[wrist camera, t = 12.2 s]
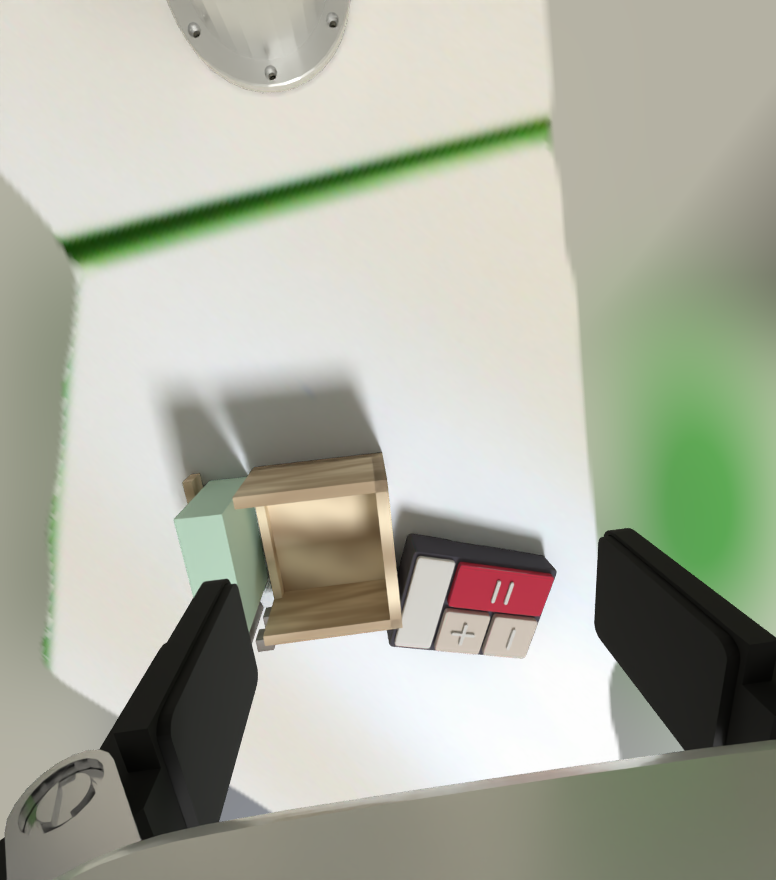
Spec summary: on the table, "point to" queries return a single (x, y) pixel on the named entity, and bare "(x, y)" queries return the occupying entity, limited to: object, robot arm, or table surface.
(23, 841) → the robot arm
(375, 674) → the table surface
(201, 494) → the green block
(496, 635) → the calculator
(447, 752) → the table surface
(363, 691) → the table surface
